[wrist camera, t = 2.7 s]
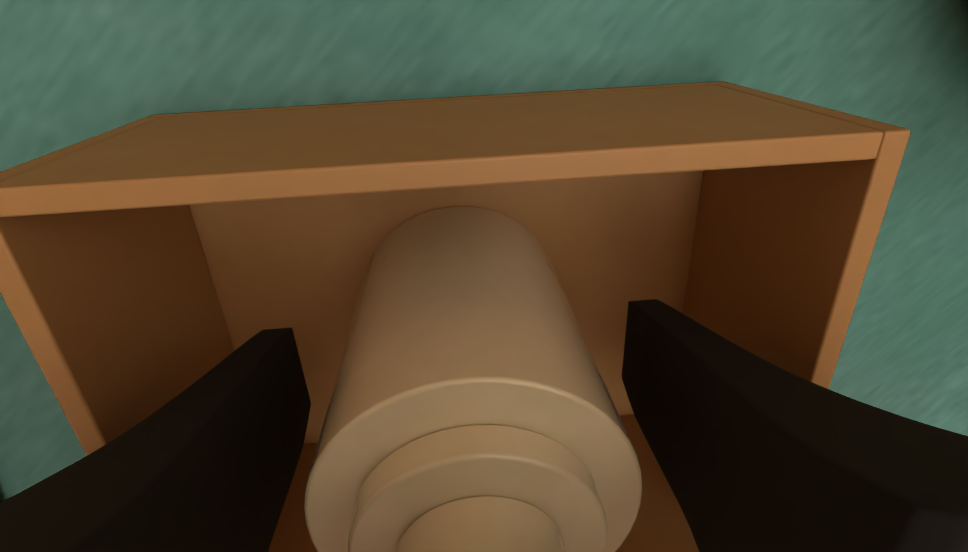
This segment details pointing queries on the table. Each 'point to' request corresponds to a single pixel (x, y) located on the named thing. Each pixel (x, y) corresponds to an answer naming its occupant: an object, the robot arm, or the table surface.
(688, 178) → the carton
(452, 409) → the bottle
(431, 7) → the table surface
